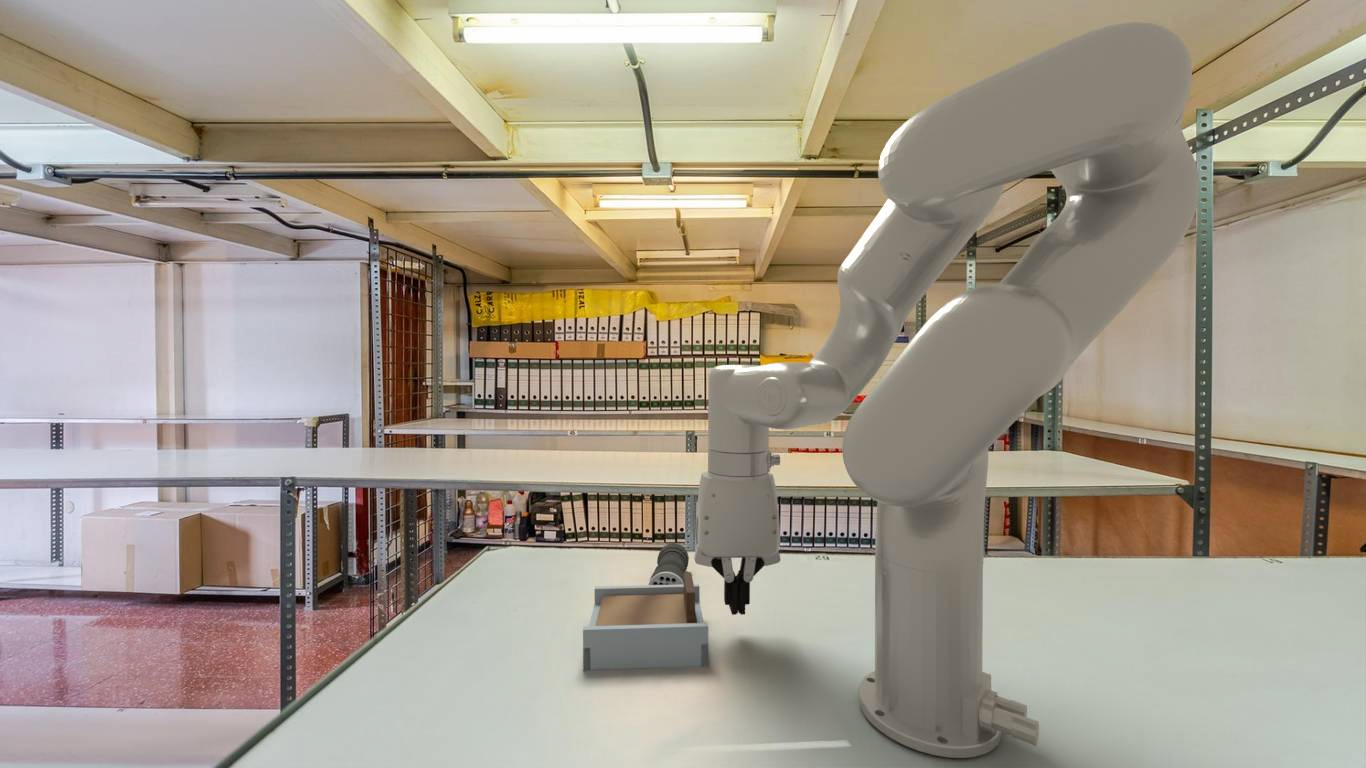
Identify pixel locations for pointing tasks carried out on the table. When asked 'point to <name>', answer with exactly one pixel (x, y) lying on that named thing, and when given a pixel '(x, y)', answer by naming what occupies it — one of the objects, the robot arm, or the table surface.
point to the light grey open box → (644, 637)
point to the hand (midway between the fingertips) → (736, 609)
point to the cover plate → (649, 608)
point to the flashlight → (670, 565)
